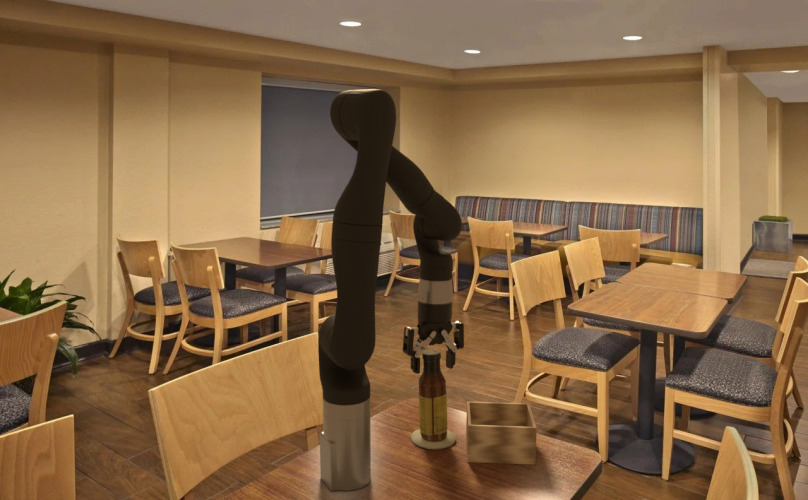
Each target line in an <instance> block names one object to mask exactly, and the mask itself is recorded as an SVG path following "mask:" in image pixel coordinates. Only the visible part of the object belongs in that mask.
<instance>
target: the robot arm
mask: <svg viewBox="0 0 808 500" xmlns="http://www.w3.org/2000/svg"><path fill="white" fill-rule="evenodd" d="M329 117H330V121H331V124H332V126H333V128H334V130H335V131H336V132H337V134H338V135H339V136H340V137H341V138H342V139H343V140H344V141H345V142H346V143H347V144H349V146H350V147H352V149H354V150H355V151H356V152H357V153H356V154H357V155H356V162H355V165H354V169H353V172H352V175H351V177H350V179H349V180H348V182H347V184H346V185H345V188H344V189H343V191H342V192H341V194H340V196H339V199H338V200H337V202H336V204H335V207H334V211H333V216H332V225H331V226H332V228H331V237H330V238H331V240H330V245H331V246H330V248H331V249H330V250H331V260H332V261H331V262H332V267H333V272H334V278H335V283H336V284H335V285H336V308H335V312H334V313H332V314H331V315H329V316H328V317H326V318H325V320H324V321H323V322H322V324H321V326H320V327H319V328H320V329H319V330H318V331H319V332H318V338H317V340H318V342H317V343H318V344H317V347H318V349H317V354H318V372H319V380H320V384H321V389H322V417H323V418H322V430H323V431H321V432H320V433H319V459H320V460H319V464H320V466H319V467H320V469H319V470H320V471H319V472H320V478H321V480H322V481H323V482H324V484H325V485H326V486H327V488H328V489H329V490H330V491H331V492H334V491H354V490H358V489H362V488H364V487H365V486H367V485H368V484H369V483H370V481H371V479H372V472H371V471H372V465H371V464H372V463H371V462H372V458H371V457H372V455H371V454H372V453H371V452H372V451H371V450H372V449H371V441H372V439H371V433H372V432H371V382H370V379H369V377H368V372H367V370H366V364H367V363H368V362H369V361H370V359H371V358H372V355H373V353H374V352H375V347H376V290H377V284H378V283H377V281H378V274H379V273H378V272H379V265H380V263H379V262H380V253H381V252H380V251H381V245H382V234H383V233H382V232H383V223H384V219H383V218H384V206H385V205H384V204H385V196H386V187H387V185H388V186H389V187H390V188H391V190H392V191H393V193H394V195H396V196H397V199H399V201H400V202H401V204H402V205H403V206H404V207H405V209H406V210H407V211H408V212H409V213H410V214H412V215H414V217H413V223H412V227H413V228H412V229H413V235H414V239H415V240H414V241H415V243H416V247H417V252H418V257H419V260H420V261H419V281H418V288H417V290H418V291H417V325H416V326H413V327H410V326H407V325H405V326H404V330H403V341H402V353H404V354H406V355H407V356H408V357H410V370H412V372H413V373H414V374H415V375H417V374H421V357H420V356H421V355H422V352H423V351H425V350H427V348H428V346H434V345H443V344H444V346H445V348H446V349H447V350H445V366H446V368H447V369H449V370H451V369H454V366H455V365H456V356H457V355H456V354H457V351H458V350H460V349H461V350H463V349H464V348H465V329H464V328H465V326H464V325H465V324H464V322H461V321H459V320H454V321H453V322H452V320H453V319H452V318H453V297H454V296H453V295H454V293H453V291H454V290H453V255H452V254H451V253H450V252H449V251H446V250H444V249H443V248H442V247H441V246H440V243H439V241H442V242H451V241H454V240H456V239H457V238H458V237H459V236H460V234H461V232H462V229H463V222H462V218H461V215H460V213H459V211H458V210H457V208H455V206H454V205H453V204H452V203H450V202H449V201H448V199H446V198H445V197H444V196H443V195H442V194H441V193H439V192H438V191H437V190H436V189H434V187H433V185H432V183H431V182H430V181H429V179H428V178H427V176H426V175H425V173H424V172H423V171H422V168H420V167H419V166H418V165H417V164H416V163H415V162H414V161H413V160H411V159H410V158H409V157H408V156H406V155H405V154H404V153H402V152H401V151H400V150H399V149H398V148H396V147H395V146H394V145H393V143H394V137H395V134H396V133H395V132H396V125H397V108H396V104H395V101H394V99H393V97H392V96H391V94H390V93H389V92H388V91H386V90H383V89H376V88H370V89H367V88H365V89H348V90H344V91H341V92H340V93H338V94H337V95H336V96H335V97H334V98H333V100H332V103H331V105H330V109H329ZM451 331H453V339H452V338H451V336H450V333H451ZM416 335H418V336H417V337H416ZM415 338H416V339H415ZM414 340H415V341H414Z"/></svg>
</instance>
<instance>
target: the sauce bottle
mask: <svg viewBox="0 0 808 500" xmlns="http://www.w3.org/2000/svg"><path fill="white" fill-rule="evenodd" d="M421 355H422V360H423V361H422V362H423V368H422V373H421V374H420V377H419V378H418V406H419V408H418V410H419V411H418V412H419V429H420V433H421V436H422V438H423V439H425V440H428V441H441V440H443V439H445V438H446V437H447V430H449V429H448V404H447V403H448V402H447V401H448V399H447V398H448V397H447V395H448V394H447V385H446V384H447V382H446V378H445V377H444V375H443V373H442V371H441V370H442V369H441V358H442V353H441V351H440V350H438V349H430V348H429V349H425V350H423V352H422V353H421Z"/></svg>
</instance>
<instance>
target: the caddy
mask: <svg viewBox="0 0 808 500" xmlns="http://www.w3.org/2000/svg"><path fill="white" fill-rule="evenodd" d="M465 420H466V422H465V423H466V424H465V425H466V426H465V438H466V440H465V441H466V458H467V459H466V460H467V463H484V464H485V463H486V464H509V465H511V464H512V465H514V464H515V465H536V457H537V456H536V453H537V431H538V430H537V429H538V428H537V425H536V421H535V418H534V415H533V412H532V408H531V405H530V403H529V402H528V403H527V402H526V403H525V402H501V401H500V402H499V401H498V402H496V401H495V402H494V401H493V402H492V401H468V400H467V401H466V419H465Z"/></svg>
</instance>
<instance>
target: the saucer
mask: <svg viewBox="0 0 808 500" xmlns="http://www.w3.org/2000/svg"><path fill="white" fill-rule="evenodd" d="M410 436H411V437H410V440H411V442H412V444H414V445H415V446H416V447H420V448H423V449H427V450H442V449H447V448H449V447H452V446H453V445H454V444H455V443H456V440H457V439H456V437H457V436H456V434H455V433H454V432H453V431H451V430H449V429H447V437H446V438H445V439H443V440H441V441H428V440H425V439H423V438H422V436H421V433H420V428H418V429H416V430H415V431H413V432H412V433H411V435H410Z"/></svg>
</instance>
